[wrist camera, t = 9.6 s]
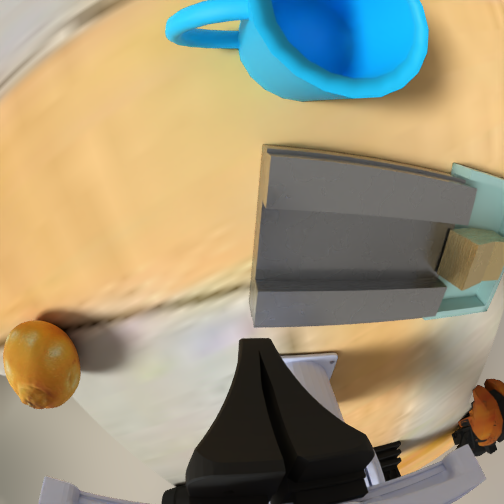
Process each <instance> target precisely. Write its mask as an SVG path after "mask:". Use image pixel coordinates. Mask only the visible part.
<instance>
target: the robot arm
mask: <svg viewBox="0 0 504 504" xmlns="http://www.w3.org/2000/svg"><path fill="white" fill-rule="evenodd" d="M337 359H338V356H337V354H336V353H323V354H309V355H291V356H280V355H279V353H278V351H277V350H276V348H275V346H274V345H273V343H272V341H271V339H269V338H248V339H241V340H239V351H238V363H237V367H236V371H235V375H234V378H233V381H232V384H231V387H230V389H229V392H228V394H227V397H226V399H225V401H224V404H223V406H222V408H221V410H220V411H219V413H218V415H217V417H216V419H215V421H214V422H213V424H212V425H211V427H210V429H209V430H208V432H207V433H206V435H205V436H204V438H203V439H202V440H201V442H200V443H199V444H198V446H197V447H196V448H195V450H194V453H193V455H192V457H191V459H190V462H189V464H188V467H187V470H186V489H187V492H188V495H189V504H451V503H453V502H455V501H457V500H458V499H460V498H461V497H463V496H464V495H466V494H467V493H468V492H470V491H471V490H473V489H474V488H475V487H477V486H478V485H479V484H481V483H482V482H483V481H485V479H486V477H485V475H484V473H483V471H482V469H481V467H480V465H479V463H478V461H477V459H476V458H475V456H474V454H473V452H472V450H471V448H470V446H469V445H468V444H466V445H464V446H462V447H460V448H458V449H456V450H454V451H452V452H451V453H449V454H448V455H447V456H445V457H444V459H443V460H442V461H440V462H437V463H435V464H433V465H430V466H428V467H425V468H423V469H420V470H418V471H415V472H412V473H410V474H407V475H404V476H401V477H398V478H395V479H392V480H389V481H386V482H385V478H384V475H383V472H382V469H381V466H380V463H379V460H378V458H377V455H376V453H375V451H374V449H373V447H372V445H371V443H370V441H369V439H368V438H367V436H366V434H364V433H362V432H360V431H358V430H356V429H355V428H353V427H351V426H349V425H348V424H346V423H345V422H344V419H343V417H342V414H341V411H340V408H339V406H338V403H337V400H336V398H335V395H334V392H333V389H332V387H331V384H330V378H331V375H332V373H333V370H334V367H335V365H336V362H337ZM39 504H147V503H139V502H133V501H127V500H121V499H115V498H110V497H105V496H100V495H96V494H91V493H87V492H84V491H80V490H79V489H78V488H77V487H76V486H75V485H73V484H71V483H69V482H66V481H62V480H59V479H56V478H53V477H50V476H45V477H44V482H43V486H42V490H41V494H40V499H39Z"/></svg>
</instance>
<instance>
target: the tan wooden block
mask: <svg viewBox="0 0 504 504" xmlns="http://www.w3.org/2000/svg"><path fill="white" fill-rule="evenodd" d="M472 229H474V230H476V231H478V232H480V233H481V234H483V235H485V236H487V237H489V238H491V239H492V240H494V241H496V242H495V245H494V248H493V251H492V254H491V257H490V260H489V263H488V265H487V268H486V271H485V273H484V276H483V279H482V281H491V280H498V279H499V277H500V274H501V272H502V269H503V266H504V237H502V236H500V235H499V234H497V233H496V232H494V231H493V230H486V229H478V228H472Z"/></svg>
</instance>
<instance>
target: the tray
mask: <svg viewBox="0 0 504 504" xmlns="http://www.w3.org/2000/svg"><path fill="white" fill-rule="evenodd" d="M451 174H452V175H455V176H457V177H459V178H462V179H464V180H466V184H468V185H470V186H472V187H475V188H477V193H476V197H475V202H474V206H473V210H472V213H471V217H470V221H469V224H468V226H467V225H459V224H455V227H454V229H462V228H478V229H486V230H493V231H494V232H496V233H497V234H499V235H500V236H502V237H504V179H503V178H501V177H498V176H495V175H492V174H489V173H486V172H483V171H479V170H476V169H473V168H470V167H466V166H463V165H460V164H456V163H453V166H452V171H451ZM503 272H504V266H503V269H502V272H501V274H500V277H499V279H498V280H491V281H481V283H479V284H476V285H474V286H472V287H470V288H468V289H465V290H463V291H461V290H460V289H458V288H457V287H456V286H454V285H453V284H451V283H450V282H448V281H447V280H445V279H444V278H442V277H441V276H439V277H438V278H439V279H440V280H441V281H442V282H443V283H444V284H445V285H446V286H447V290H446V292H445V295H444V297H443V299H442V302H441V304H440V307H439V309H438V311H437V314H436V316H432V317H424V318H423V319H424V320H430V319H438V318H445V317H452V316H459V315H466V314H472V313H479V312H485V311H487V309H488V307H489V305H490V303H491V301H492V298H493V296H494V294H495V292H496V289H497V287H498V284H499V282H500V280H501V277H502V275H503Z"/></svg>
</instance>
